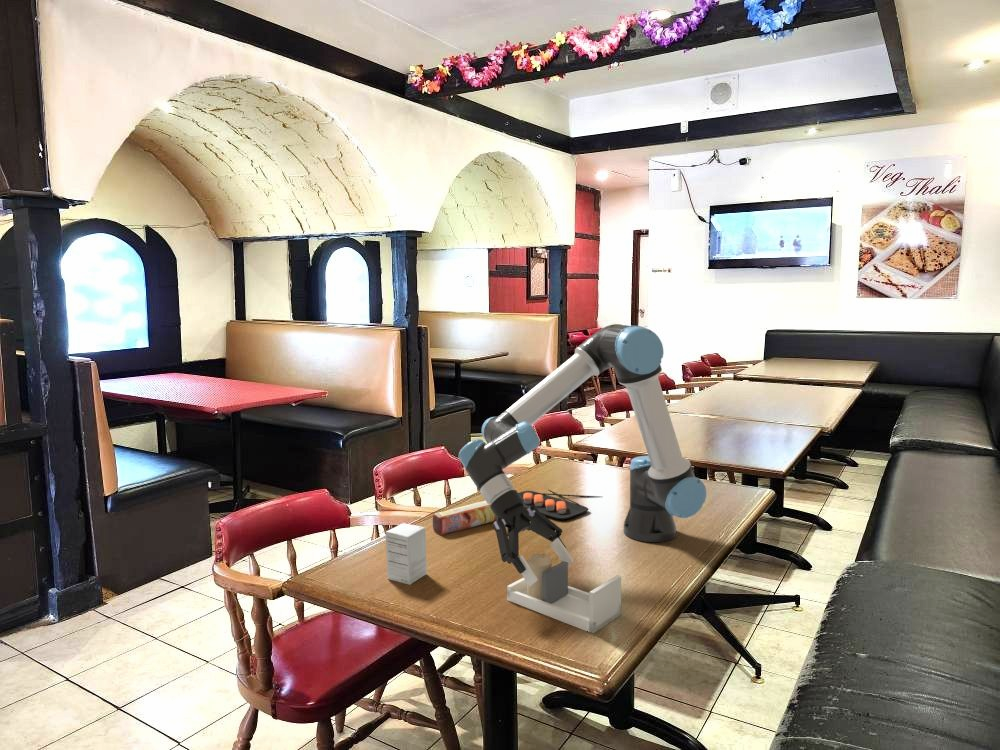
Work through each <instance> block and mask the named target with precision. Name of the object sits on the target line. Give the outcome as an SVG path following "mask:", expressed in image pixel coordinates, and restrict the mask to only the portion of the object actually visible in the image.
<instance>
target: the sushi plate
mask: <svg viewBox="0 0 1000 750" xmlns="http://www.w3.org/2000/svg"><path fill="white" fill-rule="evenodd" d="M547 491H549V492H550V493H543V492H542V493H541V492H537V491H533V490H525V491H519V492H518V494H519V495H520V497H521V498H522V500H523V506H524V507H525V508H526V509H528V508H529V507H530V506H531V505H534V506H535V507H536V508H537V509H538V510H539V512H541V513H542V514H543V515H544V516H546V517H550V518H553V519H557V520H566V519H571V518H573V517H576V516H579V515H582V514H584V513H586V512H588V511H589V508H588V507H587V506H584V505H581V504H580V503H578V502H577V501H573V500H571V499H570V498H567V497H573V498H602V496H597V495H582V494H580V495H579V494H578V495H577V494H560V493H558V492H557V493H556V492H555V491H553V490H550V489H548V490H547ZM551 492H552V493H551ZM555 496H557V497H555ZM559 497H560V498H559ZM561 498H563V499H561Z"/></svg>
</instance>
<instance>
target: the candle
mask: <svg viewBox="0 0 1000 750" xmlns="http://www.w3.org/2000/svg"><path fill="white" fill-rule="evenodd" d="M527 563H528V565H529V566H530V568H531V569H532V571H533V572H534V574H535V575H536V577H537V579H538V581H537V582H536V583H534V584H533V585H532V586H530V587H529V585H528V584H527V594H528V596H531V597H534V598H536V599H539V600H542V572H544V571H546V570H548V569H549V568H551V567H552V559H551V558H550V557H549V556H548V554H547V553H542V554H541V553H533V554H532V555H530V557H529V558H528V559H527Z"/></svg>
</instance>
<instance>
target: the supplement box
mask: <svg viewBox="0 0 1000 750" xmlns="http://www.w3.org/2000/svg"><path fill="white" fill-rule="evenodd" d="M426 545H427V544H426V527H424V526H422V525H421V526H419V525H414V524H409V523H405V522H402V523H400V524H398V525H396V526H394V527H393V528H391V529H389V530H386V531H385V551H386V569H387V570H386V573H387V574H386V575H387V576H386V578H387V579H388V580H391V581H394V582H397V583H401V584H405V585H412V584H413V583H415V582H416V581H418V580H420V579H421V578H422V577H424V576H426V575H427V574H428V571H427V570H428V569H427V568H428V567H427V566H428V565H427V546H426Z"/></svg>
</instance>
